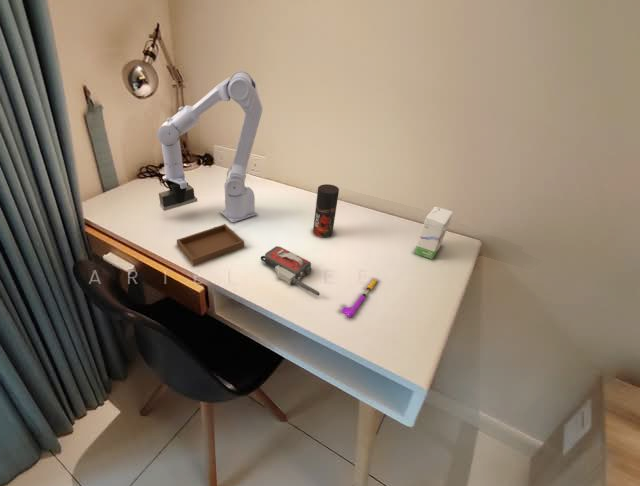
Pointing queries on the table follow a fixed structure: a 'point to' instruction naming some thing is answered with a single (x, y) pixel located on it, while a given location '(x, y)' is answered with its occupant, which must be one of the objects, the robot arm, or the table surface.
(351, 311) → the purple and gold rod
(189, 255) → the tray
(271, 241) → the table surface
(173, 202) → the dark grey eraser block
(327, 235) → the deodorant
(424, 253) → the ink box
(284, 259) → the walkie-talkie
